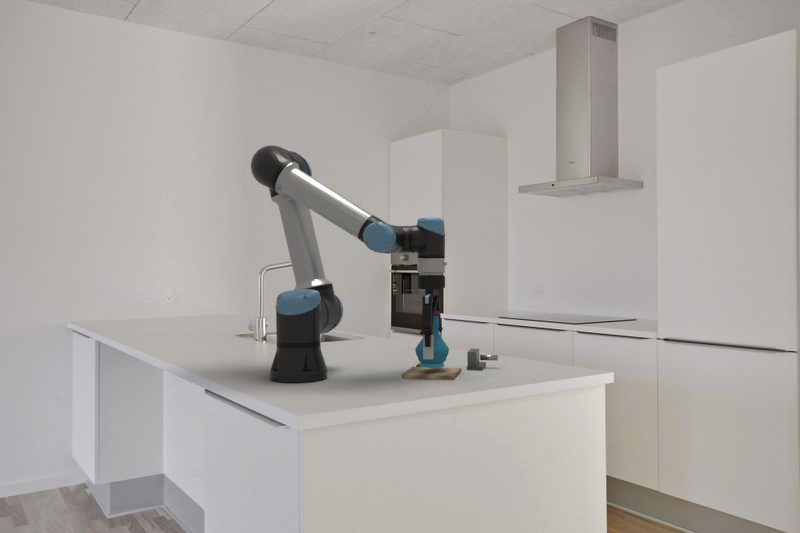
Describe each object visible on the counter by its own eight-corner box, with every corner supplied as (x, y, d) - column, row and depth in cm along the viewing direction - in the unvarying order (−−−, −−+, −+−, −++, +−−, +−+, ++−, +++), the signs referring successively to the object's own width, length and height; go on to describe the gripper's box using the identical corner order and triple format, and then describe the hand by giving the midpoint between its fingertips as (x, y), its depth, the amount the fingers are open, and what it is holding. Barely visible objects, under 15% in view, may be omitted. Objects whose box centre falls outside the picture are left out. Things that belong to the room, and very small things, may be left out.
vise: (416, 368, 194) (415, 351, 194) (422, 363, 204) (422, 347, 204) (496, 370, 189) (496, 353, 189) (499, 365, 199) (499, 348, 199)
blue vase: (427, 362, 189) (427, 309, 189) (455, 365, 184) (455, 310, 184) (408, 366, 182) (408, 311, 182) (437, 369, 176) (437, 312, 176)
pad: (401, 378, 178) (401, 374, 178) (412, 370, 191) (412, 366, 191) (453, 379, 174) (453, 376, 174) (461, 371, 188) (461, 367, 188)
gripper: (438, 274, 171) (438, 362, 171) (451, 273, 193) (451, 351, 193) (409, 275, 173) (409, 361, 173) (425, 273, 194) (425, 351, 194)
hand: (431, 356), depth 183 cm, fingers closed on blue vase, 9 cm apart
